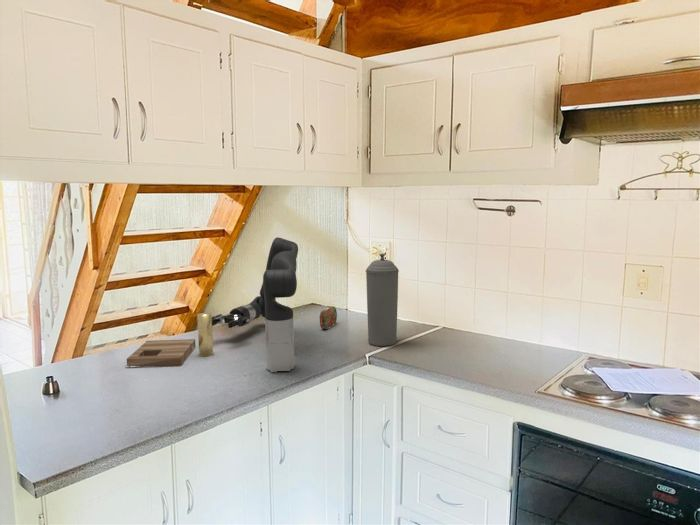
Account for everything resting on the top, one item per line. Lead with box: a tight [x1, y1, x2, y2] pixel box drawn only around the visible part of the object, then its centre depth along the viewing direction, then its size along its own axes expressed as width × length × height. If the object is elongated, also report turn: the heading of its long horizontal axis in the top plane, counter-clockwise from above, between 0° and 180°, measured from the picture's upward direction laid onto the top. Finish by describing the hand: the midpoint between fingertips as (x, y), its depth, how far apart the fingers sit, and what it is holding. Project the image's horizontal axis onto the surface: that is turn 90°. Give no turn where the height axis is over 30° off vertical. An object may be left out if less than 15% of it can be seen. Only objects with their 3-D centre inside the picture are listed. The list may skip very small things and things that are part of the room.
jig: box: [126, 338, 197, 367], centre depth 183 cm, size 22×18×3 cm
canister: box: [365, 253, 400, 347], centre depth 196 cm, size 13×13×35 cm
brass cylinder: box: [196, 312, 214, 357], centre depth 185 cm, size 5×5×15 cm
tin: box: [319, 306, 338, 330], centre depth 222 cm, size 15×3×8 cm, turn 161°
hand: (219, 324), depth 193 cm, fingers open, 8 cm apart
